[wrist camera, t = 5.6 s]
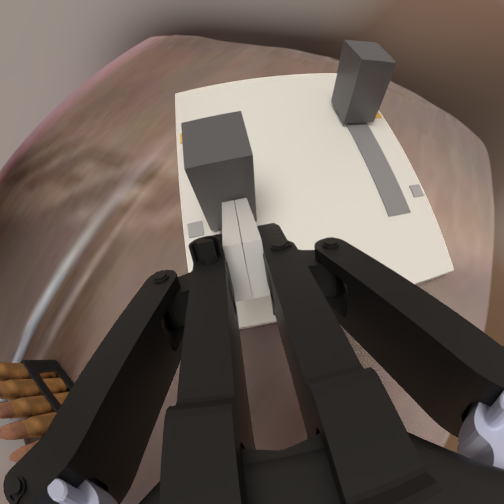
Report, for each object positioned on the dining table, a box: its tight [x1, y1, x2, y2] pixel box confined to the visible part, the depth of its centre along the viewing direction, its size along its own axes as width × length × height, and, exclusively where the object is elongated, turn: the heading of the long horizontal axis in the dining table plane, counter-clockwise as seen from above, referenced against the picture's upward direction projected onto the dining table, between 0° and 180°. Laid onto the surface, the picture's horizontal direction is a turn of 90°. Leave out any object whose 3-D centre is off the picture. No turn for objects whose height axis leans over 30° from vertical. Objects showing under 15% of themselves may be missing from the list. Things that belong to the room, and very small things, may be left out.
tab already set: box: [331, 40, 396, 123], centre depth 21 cm, size 4×4×8 cm
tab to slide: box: [181, 111, 257, 231], centre depth 18 cm, size 4×4×8 cm
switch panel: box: [175, 73, 454, 330], centre depth 24 cm, size 26×22×2 cm
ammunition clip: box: [0, 360, 74, 462], centre depth 13 cm, size 11×2×12 cm, turn 53°
